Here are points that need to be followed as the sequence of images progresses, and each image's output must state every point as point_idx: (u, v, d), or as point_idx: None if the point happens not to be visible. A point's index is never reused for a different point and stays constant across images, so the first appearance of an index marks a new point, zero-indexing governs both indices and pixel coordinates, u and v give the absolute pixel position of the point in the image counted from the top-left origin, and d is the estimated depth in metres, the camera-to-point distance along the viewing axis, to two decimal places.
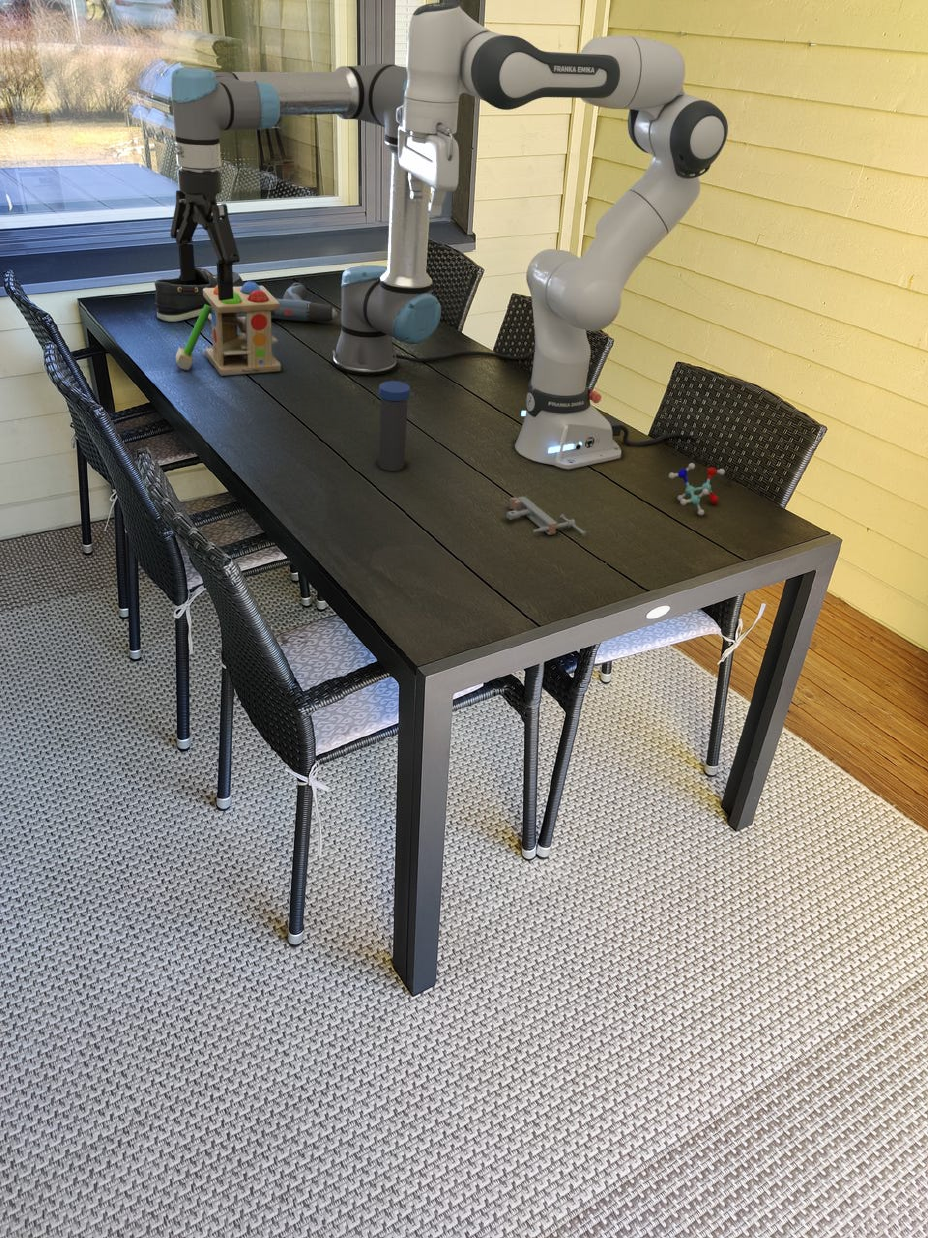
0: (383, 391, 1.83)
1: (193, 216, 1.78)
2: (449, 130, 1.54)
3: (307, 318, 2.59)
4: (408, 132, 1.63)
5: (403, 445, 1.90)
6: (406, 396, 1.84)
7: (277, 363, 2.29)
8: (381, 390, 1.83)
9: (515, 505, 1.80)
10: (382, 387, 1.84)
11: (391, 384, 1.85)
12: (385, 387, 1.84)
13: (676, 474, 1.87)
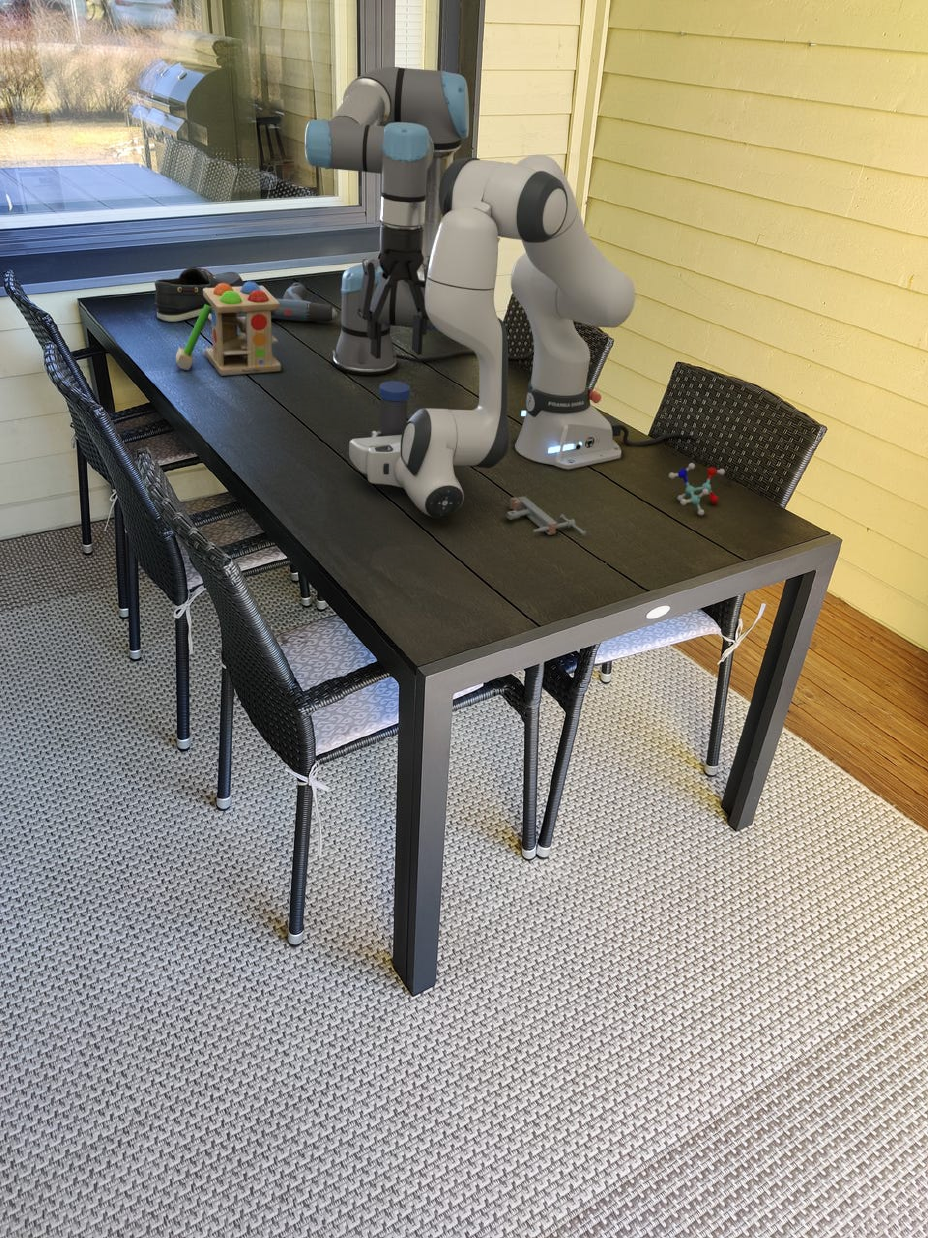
0: (383, 391, 1.83)
1: None
2: None
3: (307, 318, 2.59)
4: None
5: None
6: (406, 396, 1.84)
7: (277, 363, 2.29)
8: (381, 390, 1.83)
9: (515, 505, 1.80)
10: (382, 387, 1.84)
11: (391, 384, 1.85)
12: (385, 387, 1.84)
13: (676, 474, 1.87)
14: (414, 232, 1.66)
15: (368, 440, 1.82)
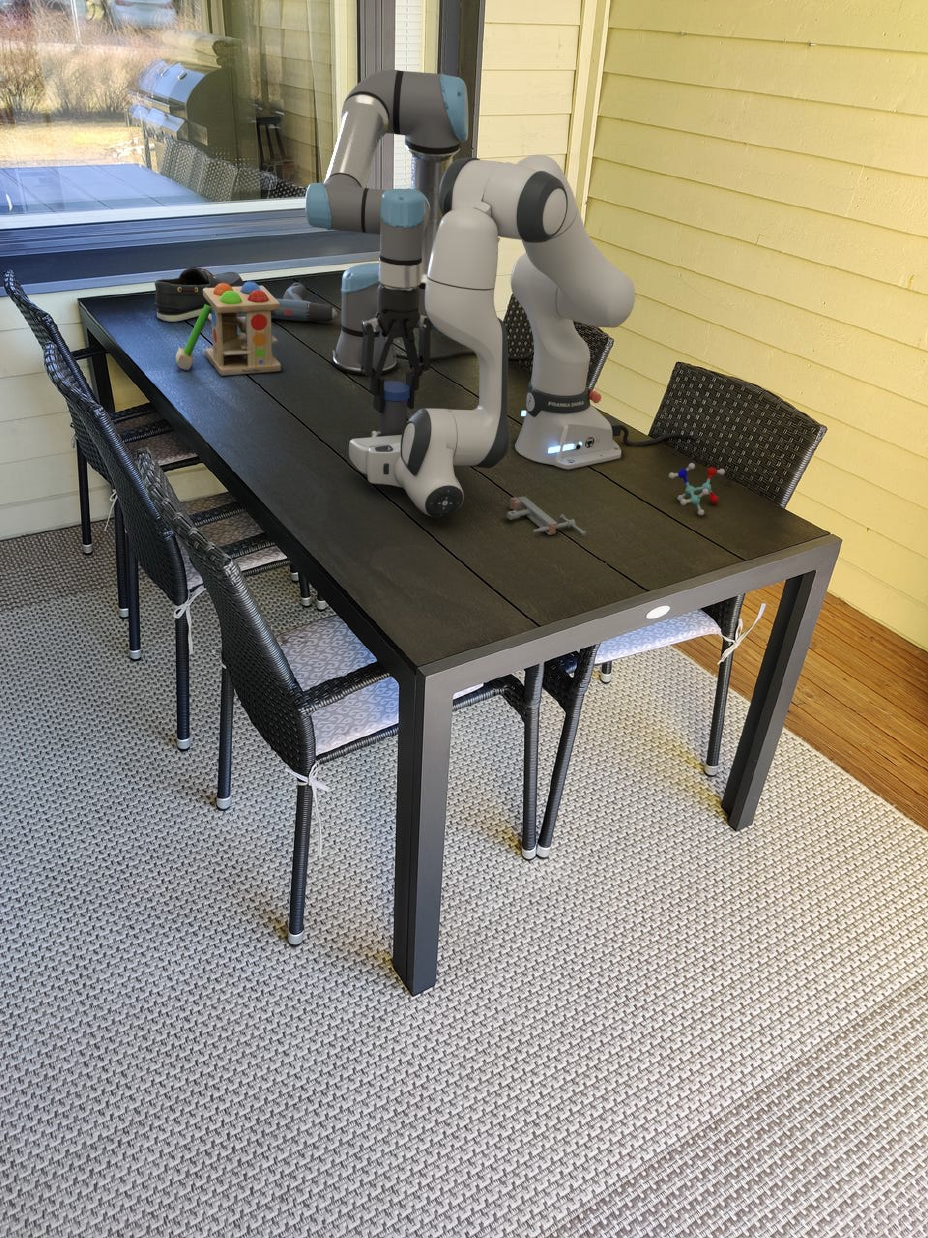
0: None
1: None
2: None
3: (307, 318, 2.59)
4: None
5: None
6: (406, 396, 1.84)
7: (277, 363, 2.29)
8: None
9: (515, 505, 1.80)
10: None
11: (391, 384, 1.85)
12: (385, 387, 1.84)
13: (676, 474, 1.87)
14: (411, 293, 1.72)
15: (368, 440, 1.82)
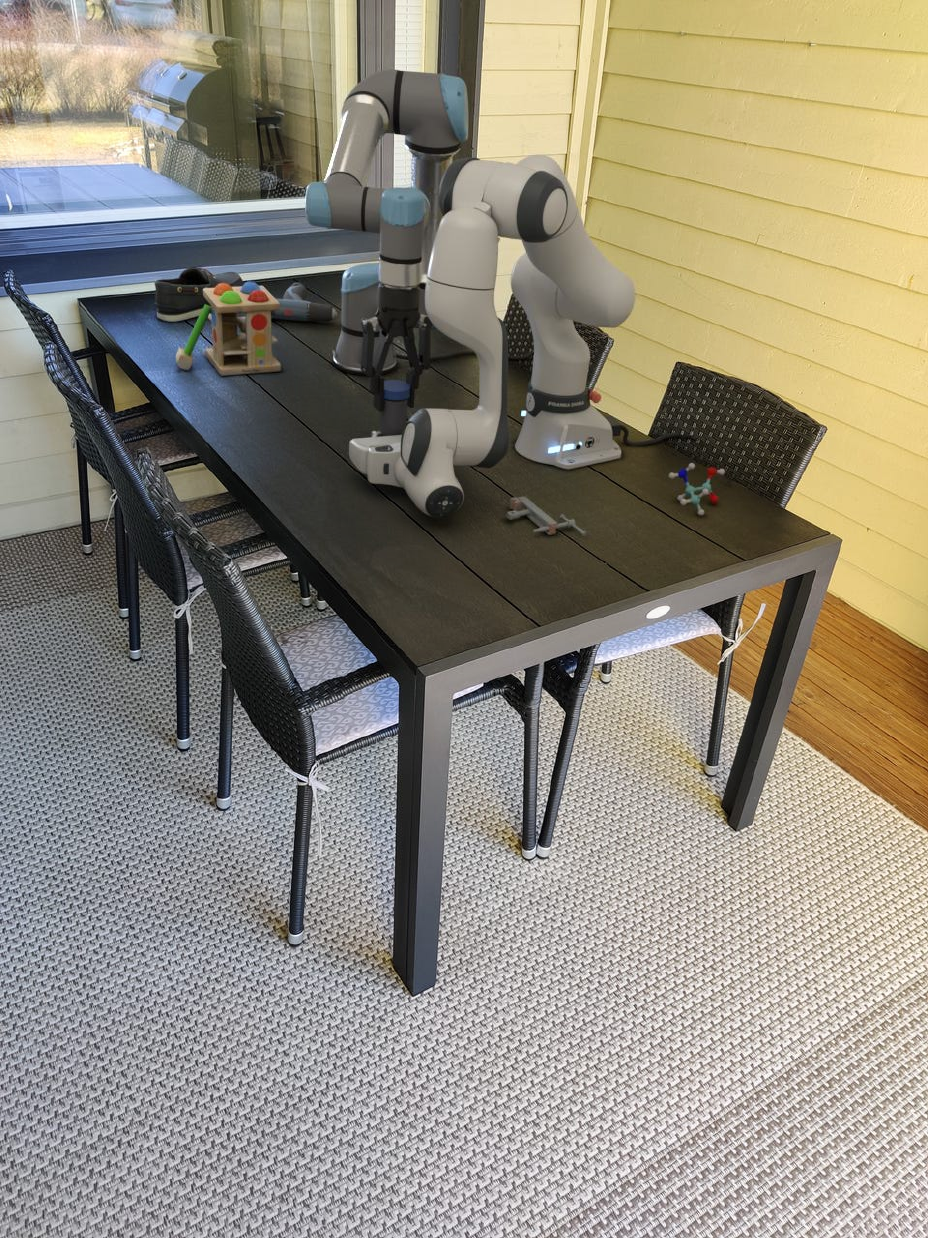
0: (409, 389, 1.84)
1: None
2: None
3: (307, 318, 2.59)
4: None
5: None
6: None
7: (277, 363, 2.29)
8: (408, 390, 1.84)
9: (515, 505, 1.80)
10: (404, 389, 1.83)
11: (391, 387, 1.83)
12: (402, 388, 1.84)
13: (676, 474, 1.87)
14: (411, 292, 1.72)
15: (368, 440, 1.82)
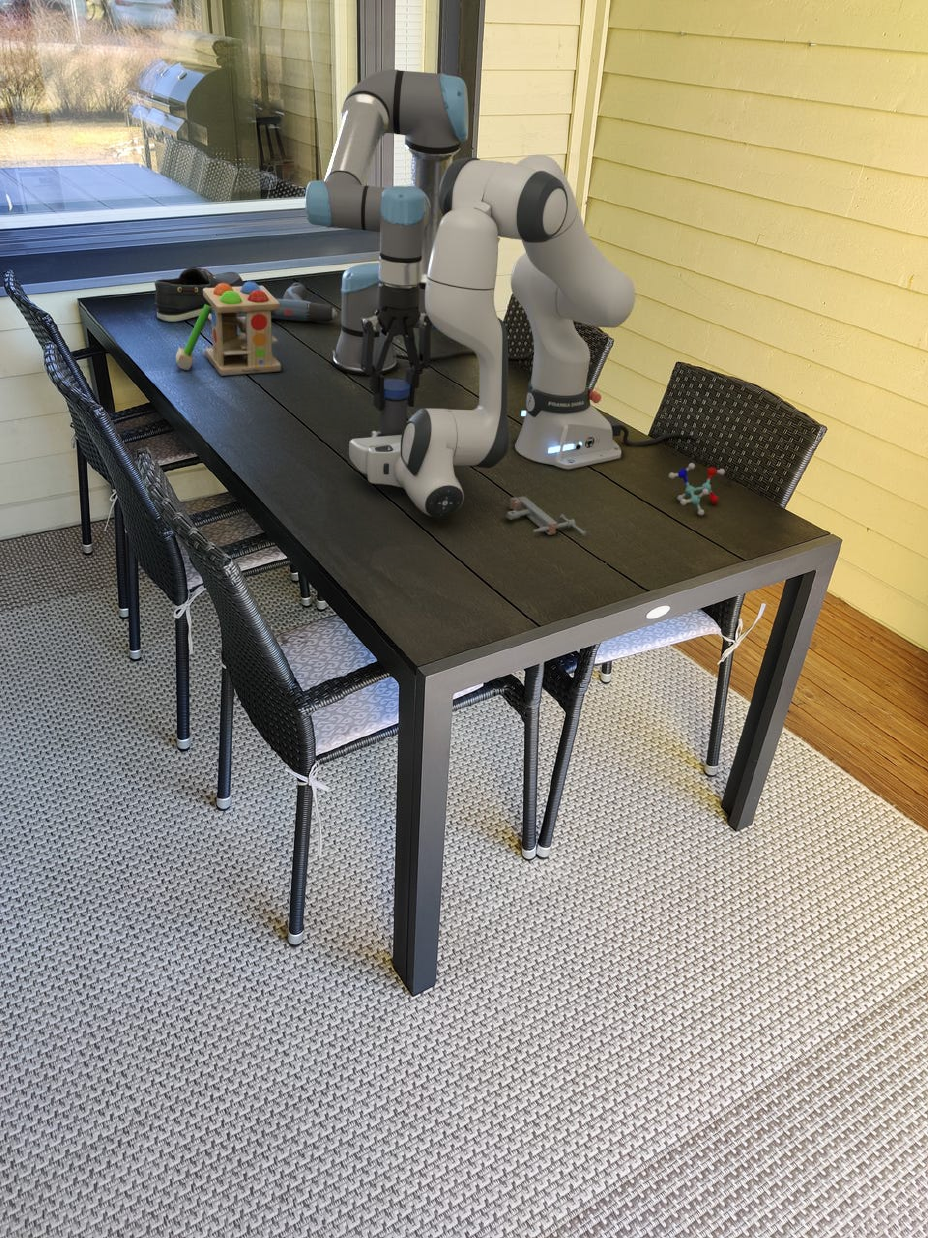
0: None
1: None
2: None
3: (307, 318, 2.59)
4: None
5: None
6: None
7: (277, 363, 2.29)
8: None
9: (515, 505, 1.80)
10: (396, 380, 1.86)
11: (401, 384, 1.84)
12: (395, 381, 1.86)
13: (676, 474, 1.87)
14: (411, 291, 1.72)
15: (368, 440, 1.82)
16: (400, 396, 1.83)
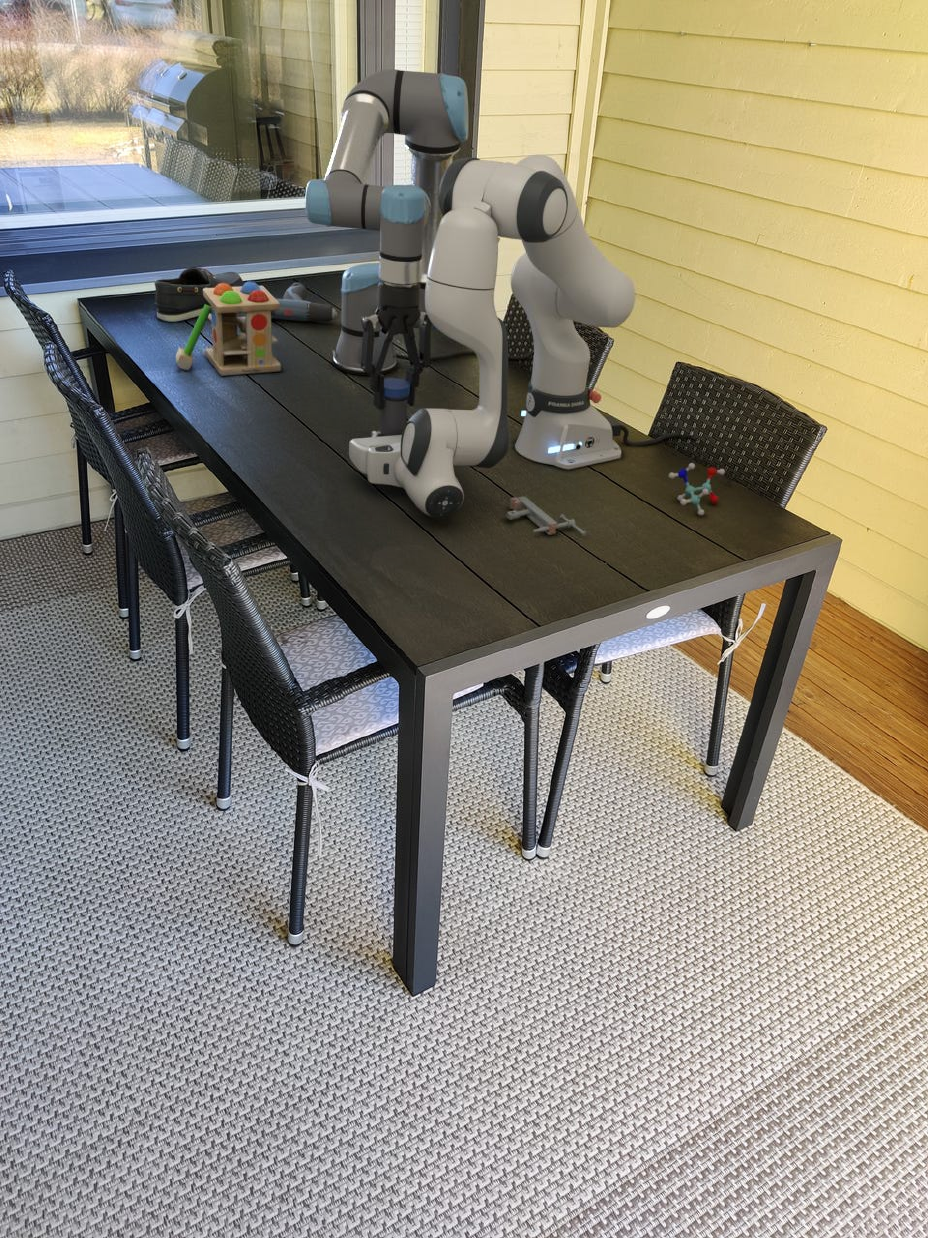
0: (384, 388, 1.82)
1: None
2: None
3: (307, 318, 2.59)
4: None
5: None
6: (407, 392, 1.84)
7: (277, 363, 2.29)
8: None
9: (515, 505, 1.80)
10: None
11: (391, 381, 1.85)
12: (386, 384, 1.83)
13: (676, 474, 1.87)
14: (411, 290, 1.72)
15: (368, 440, 1.82)
16: None
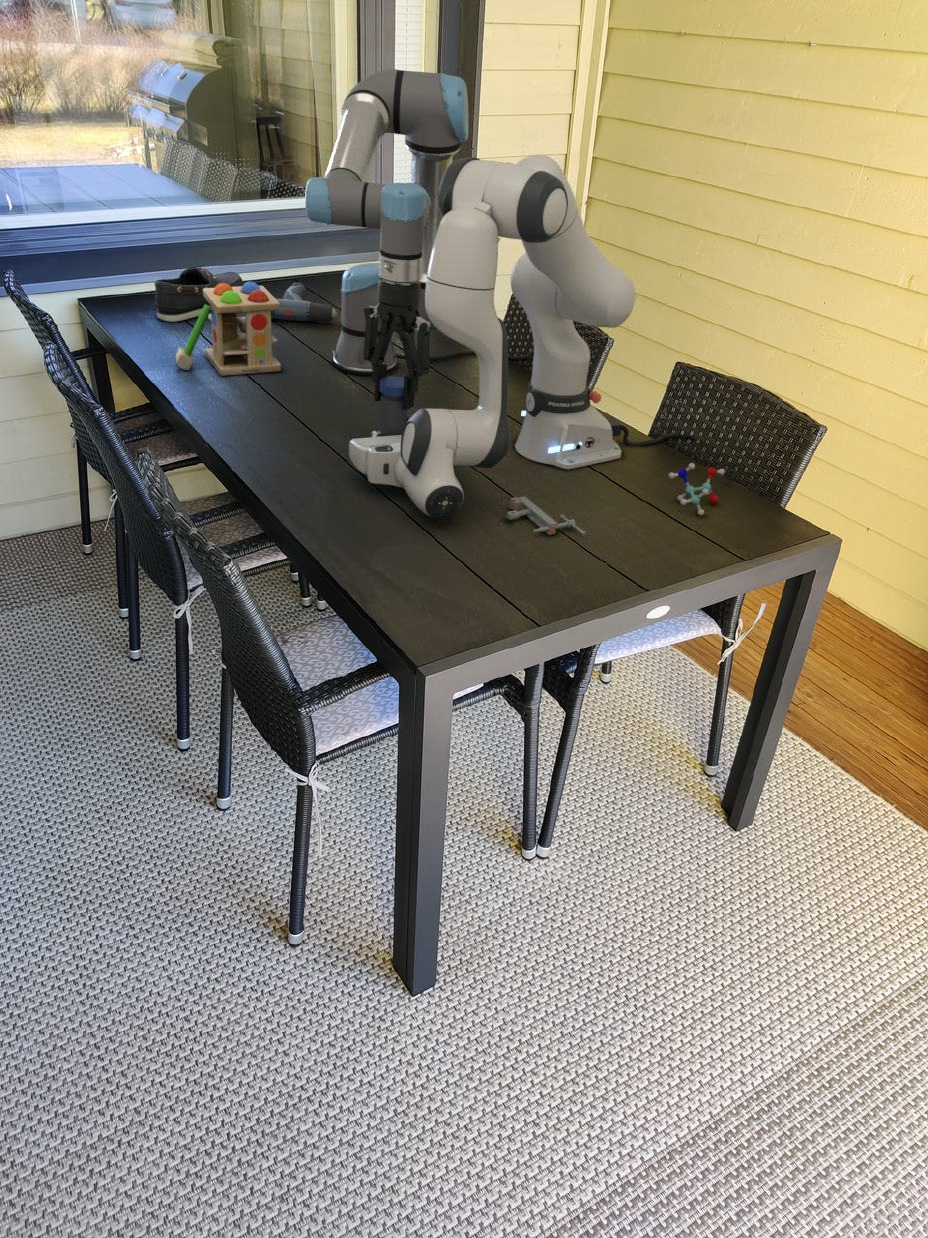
0: None
1: (388, 325, 1.78)
2: None
3: (307, 318, 2.59)
4: None
5: None
6: None
7: (277, 363, 2.29)
8: None
9: (515, 505, 1.80)
10: None
11: (392, 384, 1.83)
12: (403, 384, 1.83)
13: (676, 474, 1.87)
14: None
15: (368, 440, 1.82)
16: None
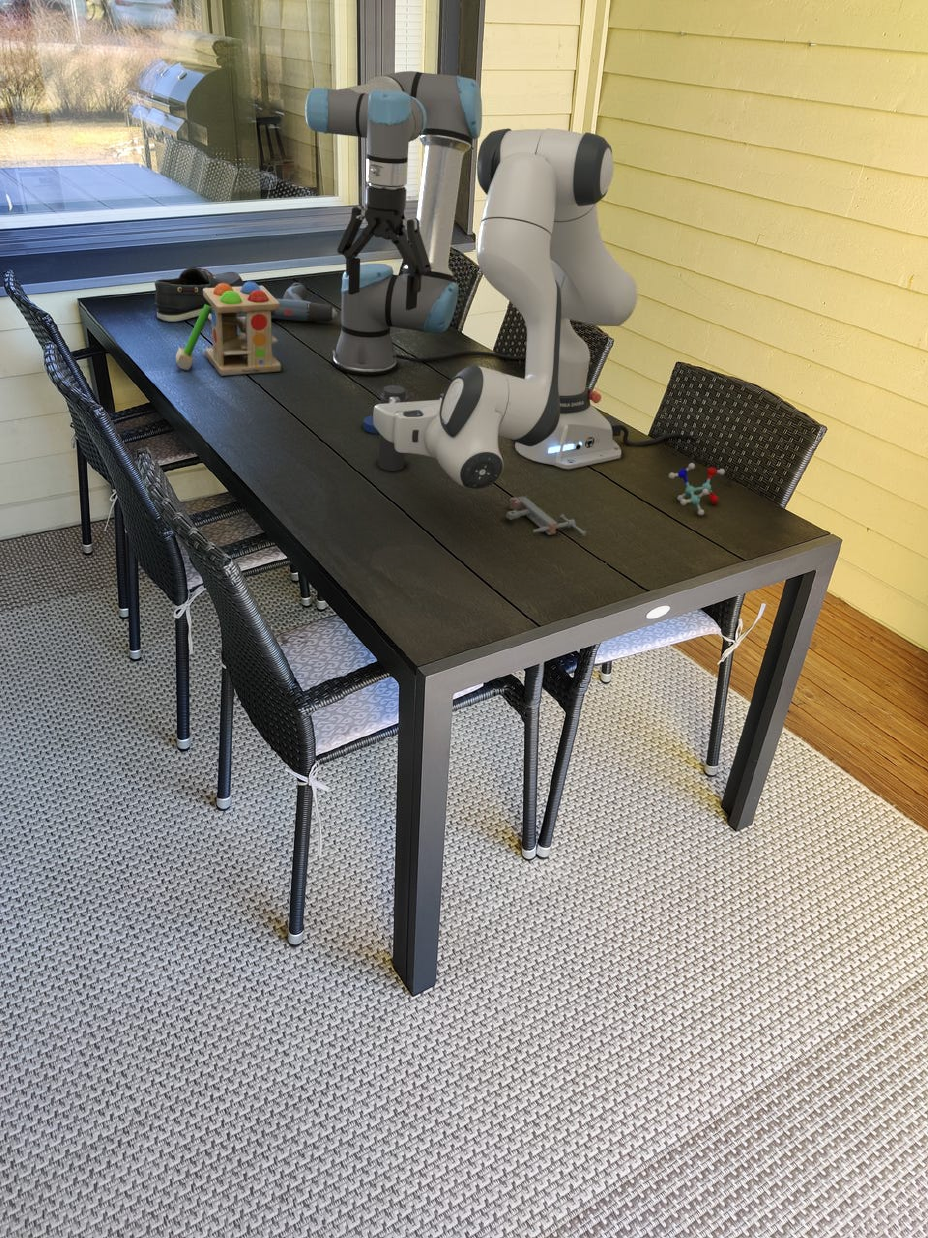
0: None
1: (376, 231, 1.85)
2: None
3: (307, 318, 2.59)
4: None
5: None
6: None
7: (277, 363, 2.29)
8: None
9: (515, 505, 1.80)
10: None
11: None
12: None
13: (676, 474, 1.87)
14: None
15: (395, 405, 1.65)
16: None
